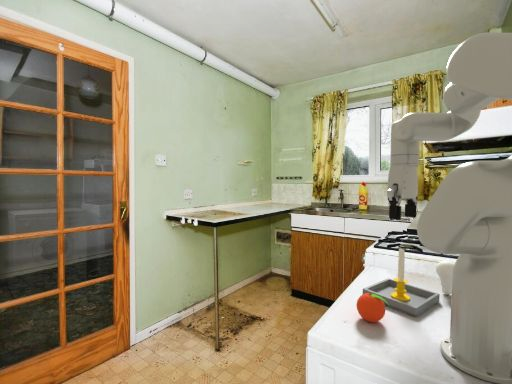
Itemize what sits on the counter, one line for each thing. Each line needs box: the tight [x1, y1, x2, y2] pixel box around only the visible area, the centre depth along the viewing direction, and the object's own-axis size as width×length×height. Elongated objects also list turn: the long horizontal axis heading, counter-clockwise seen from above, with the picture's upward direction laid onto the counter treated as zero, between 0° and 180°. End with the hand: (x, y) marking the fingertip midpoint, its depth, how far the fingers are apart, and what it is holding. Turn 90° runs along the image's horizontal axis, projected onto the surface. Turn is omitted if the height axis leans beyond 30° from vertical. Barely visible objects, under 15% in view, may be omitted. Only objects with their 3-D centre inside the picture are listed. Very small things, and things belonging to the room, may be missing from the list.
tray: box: [362, 278, 441, 318], centre depth 81 cm, size 16×16×2 cm
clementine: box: [356, 293, 391, 323], centre depth 68 cm, size 8×7×7 cm
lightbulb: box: [435, 260, 455, 296], centre depth 84 cm, size 6×6×11 cm
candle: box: [391, 248, 410, 301], centre depth 80 cm, size 5×5×16 cm
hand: (402, 218), depth 80 cm, fingers open, 9 cm apart
